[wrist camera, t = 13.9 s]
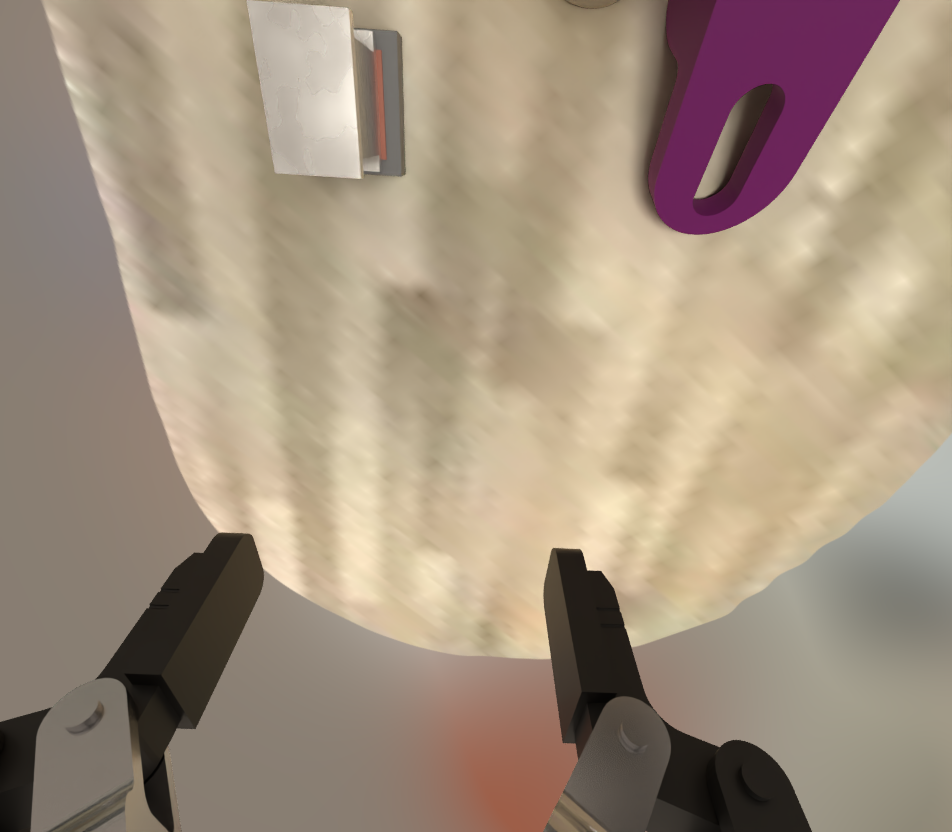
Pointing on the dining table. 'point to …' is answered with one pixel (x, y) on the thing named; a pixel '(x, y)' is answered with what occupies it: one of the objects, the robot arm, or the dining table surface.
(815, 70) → the mounting bracket
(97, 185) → the dining table surface
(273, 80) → the housing
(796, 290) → the dining table surface
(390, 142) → the stand
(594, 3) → the travel mug
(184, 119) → the dining table surface
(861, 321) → the dining table surface
